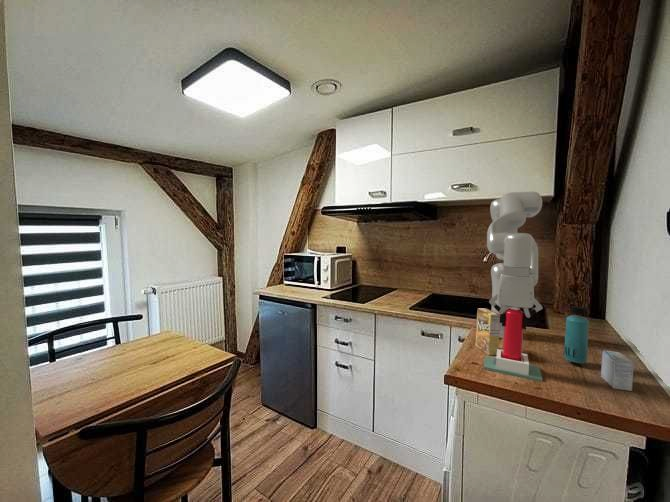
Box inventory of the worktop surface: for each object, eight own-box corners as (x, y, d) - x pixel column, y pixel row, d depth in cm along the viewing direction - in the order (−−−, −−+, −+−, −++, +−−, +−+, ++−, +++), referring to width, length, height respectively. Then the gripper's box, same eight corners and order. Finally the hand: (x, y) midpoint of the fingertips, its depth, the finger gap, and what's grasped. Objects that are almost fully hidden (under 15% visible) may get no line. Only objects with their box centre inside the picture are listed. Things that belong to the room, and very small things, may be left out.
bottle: (514, 368, 95) (517, 306, 94) (498, 361, 100) (501, 302, 99) (525, 365, 98) (528, 304, 96) (509, 358, 102) (512, 301, 101)
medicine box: (632, 392, 85) (634, 362, 85) (612, 388, 87) (614, 359, 86) (618, 379, 93) (620, 352, 92) (600, 376, 94) (602, 349, 94)
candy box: (474, 346, 118) (476, 308, 117) (484, 345, 119) (486, 307, 118) (488, 355, 109) (490, 314, 108) (499, 355, 110) (501, 314, 109)
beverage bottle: (587, 363, 103) (591, 306, 102) (586, 370, 99) (590, 310, 97) (563, 358, 108) (567, 303, 106) (561, 363, 103) (565, 306, 102)
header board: (485, 358, 107) (485, 346, 107) (539, 368, 99) (539, 356, 99) (483, 369, 98) (484, 356, 98) (542, 381, 90) (543, 367, 90)
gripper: (547, 272, 96) (544, 328, 97) (487, 268, 104) (485, 319, 105) (550, 275, 89) (546, 335, 90) (486, 271, 98) (483, 325, 99)
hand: (513, 326), depth 98 cm, fingers closed on bottle, 5 cm apart
